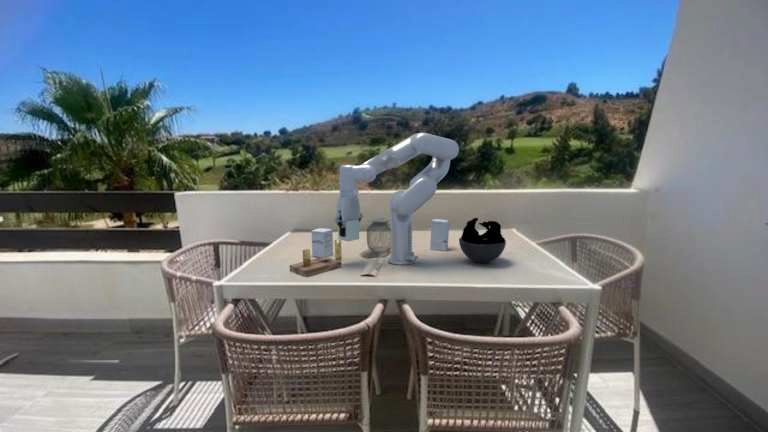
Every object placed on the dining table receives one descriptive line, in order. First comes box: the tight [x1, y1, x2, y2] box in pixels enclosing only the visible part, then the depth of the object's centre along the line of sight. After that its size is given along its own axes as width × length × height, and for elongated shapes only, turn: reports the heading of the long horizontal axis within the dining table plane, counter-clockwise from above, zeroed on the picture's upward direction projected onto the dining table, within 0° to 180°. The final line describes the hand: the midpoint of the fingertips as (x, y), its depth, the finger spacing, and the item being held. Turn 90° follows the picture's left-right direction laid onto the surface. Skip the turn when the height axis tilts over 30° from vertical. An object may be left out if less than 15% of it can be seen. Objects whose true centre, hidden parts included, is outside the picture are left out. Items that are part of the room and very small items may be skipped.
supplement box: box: [311, 227, 334, 258], centre depth 183 cm, size 7×7×13 cm
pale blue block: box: [337, 219, 360, 242], centre depth 167 cm, size 6×6×9 cm
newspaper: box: [360, 257, 385, 278], centre depth 164 cm, size 24×7×2 cm, turn 172°
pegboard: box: [289, 248, 343, 278], centre depth 163 cm, size 12×18×9 cm, turn 136°
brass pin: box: [334, 239, 343, 261], centre depth 177 cm, size 3×3×9 cm
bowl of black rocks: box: [458, 217, 507, 264], centre depth 170 cm, size 20×20×19 cm
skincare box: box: [429, 218, 450, 252], centre depth 193 cm, size 8×6×15 cm
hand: (348, 234), depth 168 cm, fingers closed on pale blue block, 6 cm apart
